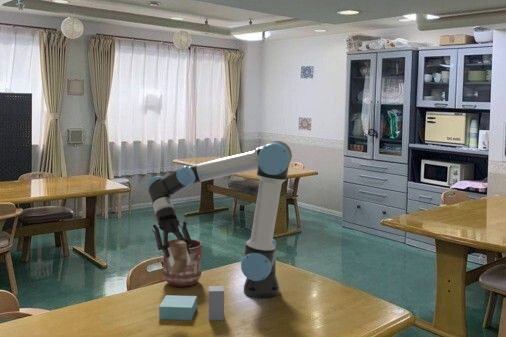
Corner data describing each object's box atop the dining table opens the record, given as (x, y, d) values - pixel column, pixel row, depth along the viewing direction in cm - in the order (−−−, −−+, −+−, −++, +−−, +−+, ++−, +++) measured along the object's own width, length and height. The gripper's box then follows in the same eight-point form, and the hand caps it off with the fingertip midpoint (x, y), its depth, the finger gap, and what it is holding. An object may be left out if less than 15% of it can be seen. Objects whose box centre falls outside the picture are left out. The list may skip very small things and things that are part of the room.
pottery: (153, 284, 233) (153, 244, 231) (180, 274, 247) (181, 236, 245) (183, 293, 223) (183, 251, 221) (210, 282, 237) (210, 242, 235)
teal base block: (196, 308, 207) (196, 296, 206) (191, 320, 195) (191, 307, 194) (166, 307, 207) (166, 295, 207) (159, 319, 195) (159, 306, 195)
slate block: (223, 314, 201) (223, 285, 199) (223, 320, 195) (224, 290, 194) (208, 314, 200) (208, 286, 199) (208, 320, 195) (209, 291, 193)
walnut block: (181, 267, 203) (181, 239, 202) (186, 271, 198) (186, 242, 197) (167, 269, 200) (167, 241, 199) (172, 273, 196) (172, 244, 194)
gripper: (184, 215, 215) (200, 265, 203) (139, 219, 206) (154, 272, 194) (189, 204, 210) (206, 255, 198) (144, 208, 201) (159, 261, 188)
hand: (180, 263), depth 196 cm, fingers closed on walnut block, 5 cm apart
